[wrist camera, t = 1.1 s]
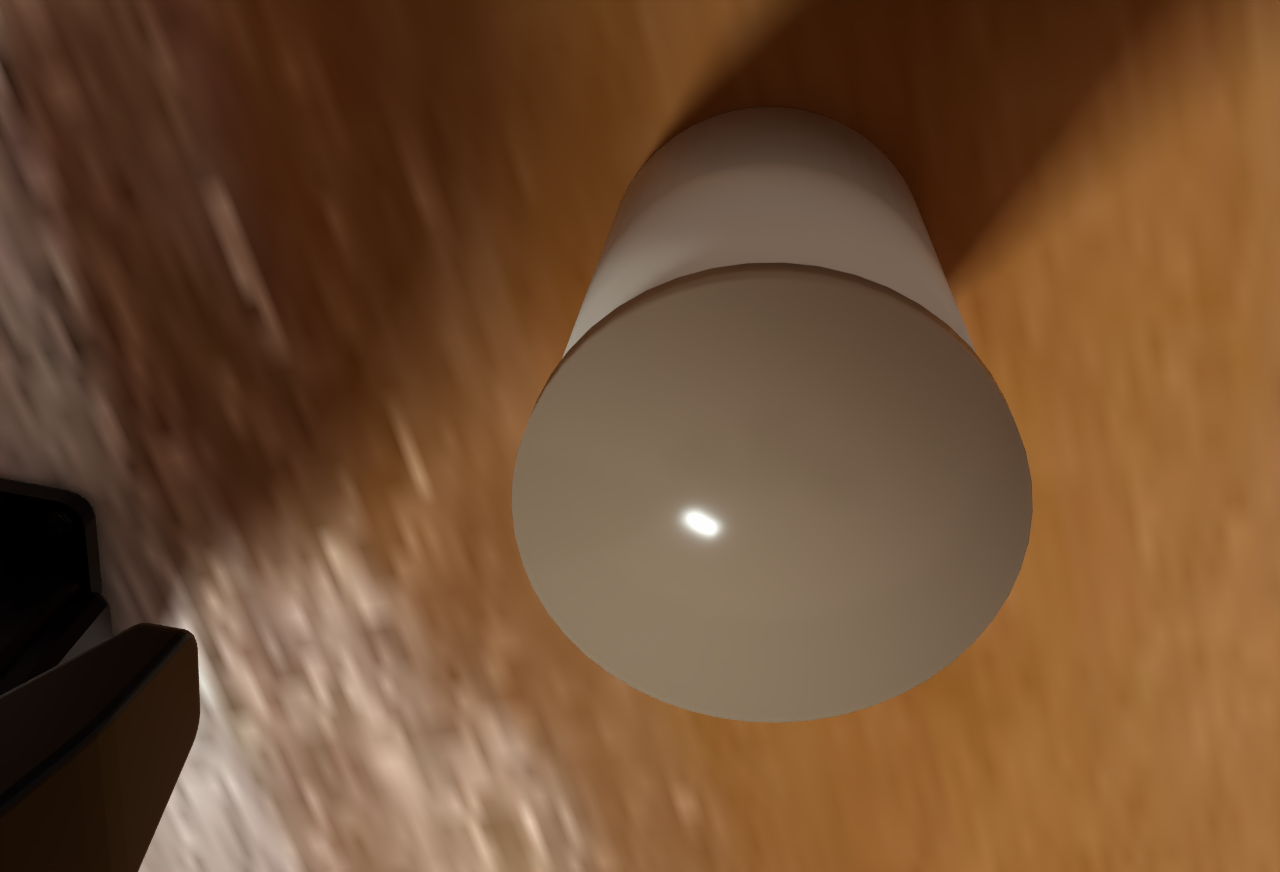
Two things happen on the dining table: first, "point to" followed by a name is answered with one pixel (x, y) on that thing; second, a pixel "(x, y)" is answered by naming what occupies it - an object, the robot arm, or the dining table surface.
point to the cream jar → (771, 436)
